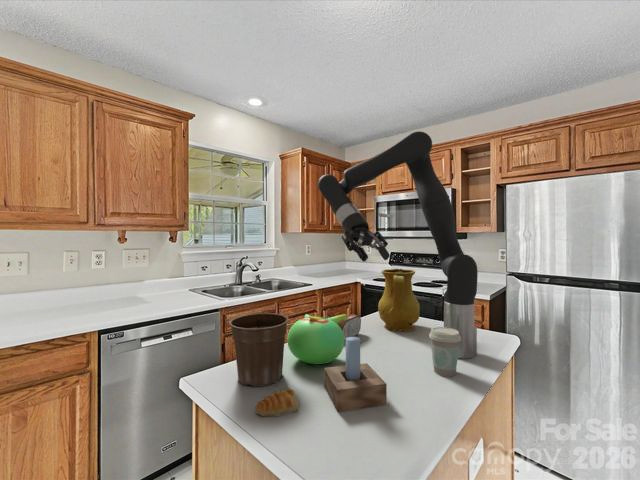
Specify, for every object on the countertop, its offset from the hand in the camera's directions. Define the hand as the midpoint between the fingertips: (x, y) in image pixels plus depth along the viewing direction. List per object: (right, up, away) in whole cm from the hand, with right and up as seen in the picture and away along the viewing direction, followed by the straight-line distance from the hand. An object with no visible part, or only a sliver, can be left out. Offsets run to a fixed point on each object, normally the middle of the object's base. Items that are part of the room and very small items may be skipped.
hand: (377, 258), depth 92 cm
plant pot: (-33, -33, -3) cm, 47 cm away
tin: (-5, -32, +29) cm, 44 cm away
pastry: (-26, -34, -19) cm, 47 cm away
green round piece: (-18, -33, +8) cm, 38 cm away
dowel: (-8, -33, -13) cm, 37 cm away
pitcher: (+16, -32, +42) cm, 55 cm away
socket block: (-8, -33, -13) cm, 37 cm away
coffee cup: (+19, -33, 0) cm, 38 cm away
